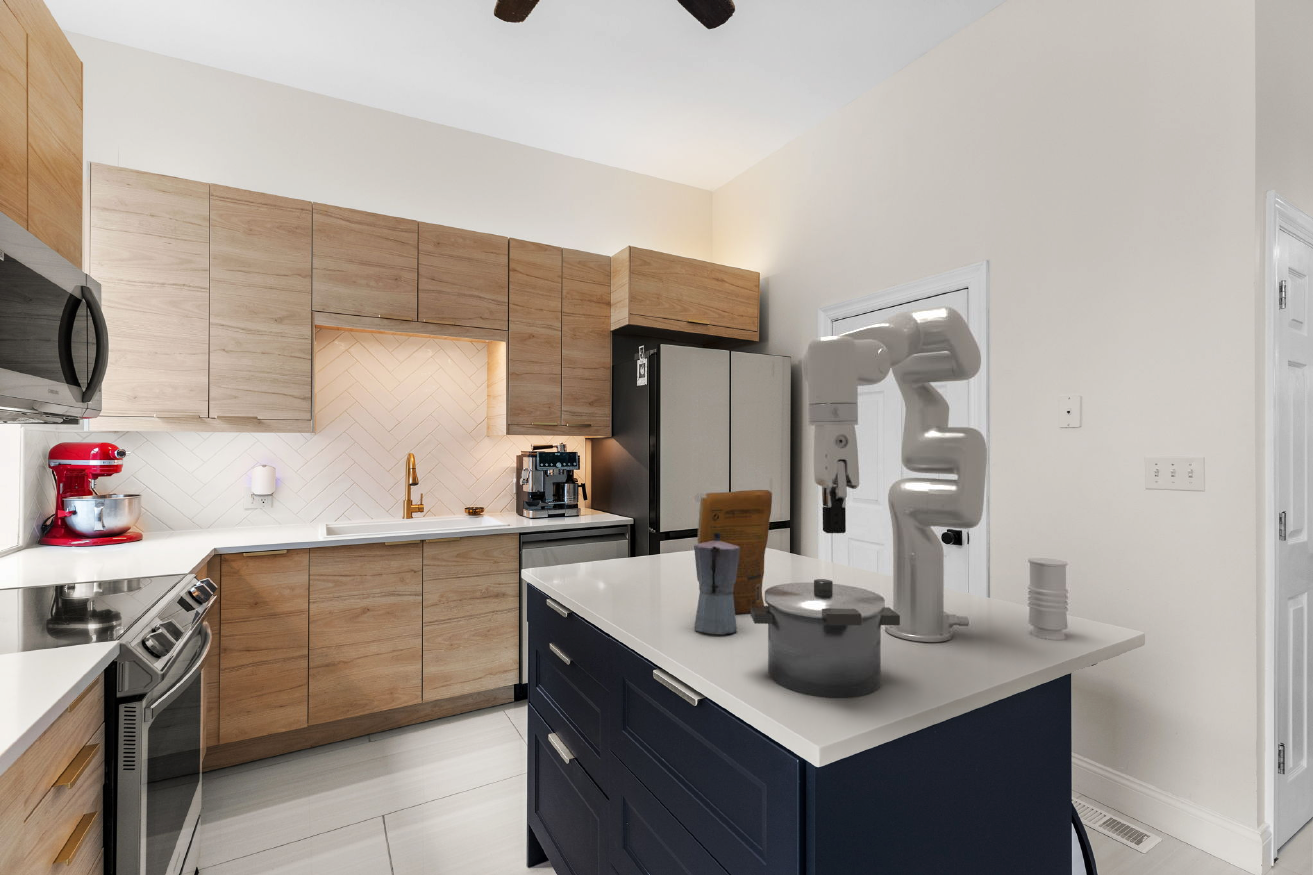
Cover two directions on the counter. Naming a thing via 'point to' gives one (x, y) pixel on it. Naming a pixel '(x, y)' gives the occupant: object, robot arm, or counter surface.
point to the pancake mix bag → (740, 537)
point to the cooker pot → (824, 652)
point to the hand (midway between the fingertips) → (834, 532)
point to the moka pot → (716, 586)
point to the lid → (825, 601)
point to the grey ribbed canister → (1048, 598)
